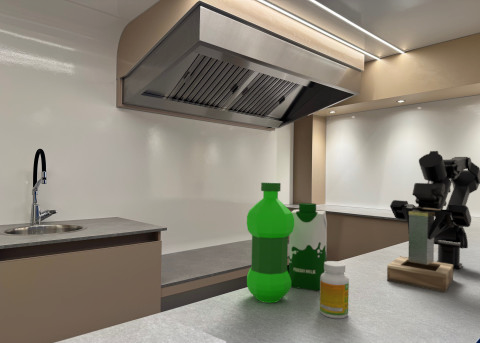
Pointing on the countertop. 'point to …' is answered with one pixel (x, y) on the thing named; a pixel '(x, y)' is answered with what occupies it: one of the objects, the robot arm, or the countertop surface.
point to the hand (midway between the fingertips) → (419, 236)
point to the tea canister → (421, 237)
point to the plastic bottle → (269, 245)
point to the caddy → (420, 274)
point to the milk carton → (307, 247)
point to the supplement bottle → (334, 290)
